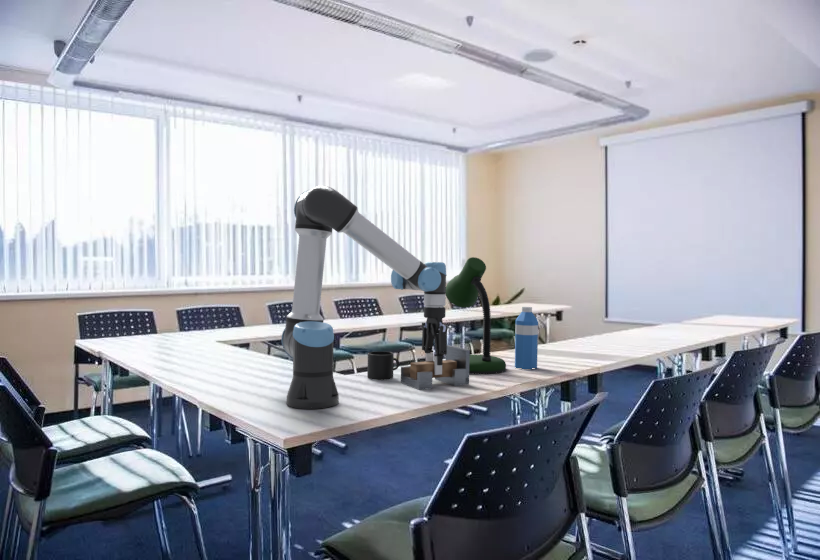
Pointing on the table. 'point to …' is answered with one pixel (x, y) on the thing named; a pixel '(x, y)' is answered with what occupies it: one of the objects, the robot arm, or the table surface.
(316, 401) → the robot arm
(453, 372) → the cup bracket
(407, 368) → the saddle bracket
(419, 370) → the brown wooden bar
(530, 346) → the water bottle
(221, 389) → the table surface
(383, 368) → the mug
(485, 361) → the desk lamp
